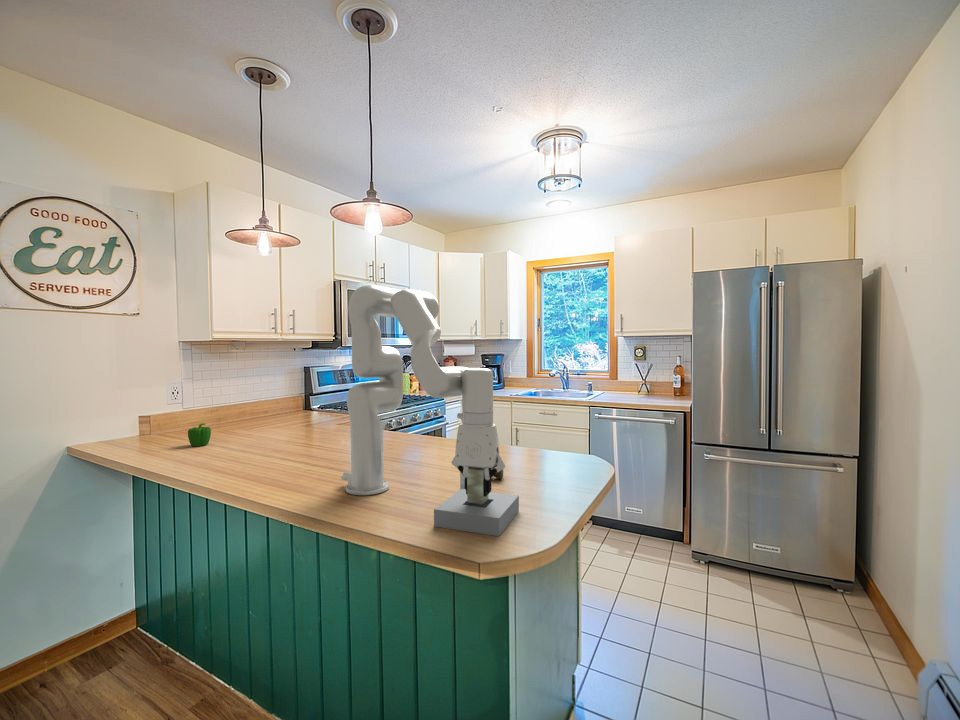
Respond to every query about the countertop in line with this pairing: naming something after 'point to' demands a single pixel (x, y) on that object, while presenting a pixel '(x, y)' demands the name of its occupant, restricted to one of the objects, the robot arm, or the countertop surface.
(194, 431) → the bell pepper
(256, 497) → the countertop surface
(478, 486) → the peg
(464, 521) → the socket block
